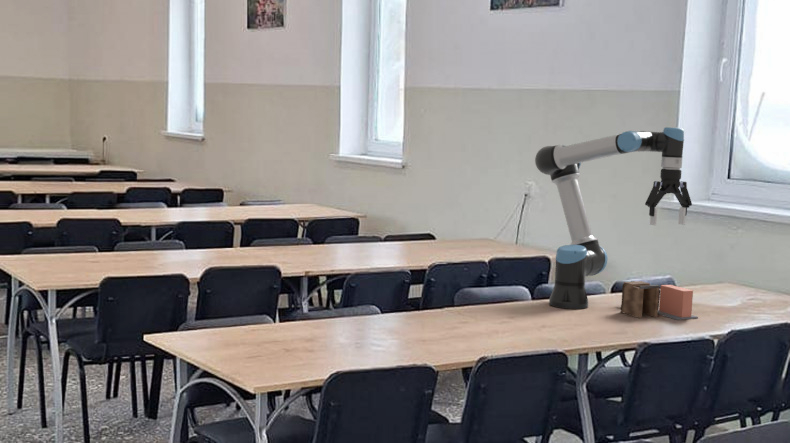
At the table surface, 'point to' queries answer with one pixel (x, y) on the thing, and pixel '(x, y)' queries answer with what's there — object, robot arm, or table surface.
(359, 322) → the table surface
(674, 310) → the salmon pink brick
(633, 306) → the brown wooden slotted holder
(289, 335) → the table surface
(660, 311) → the pad
